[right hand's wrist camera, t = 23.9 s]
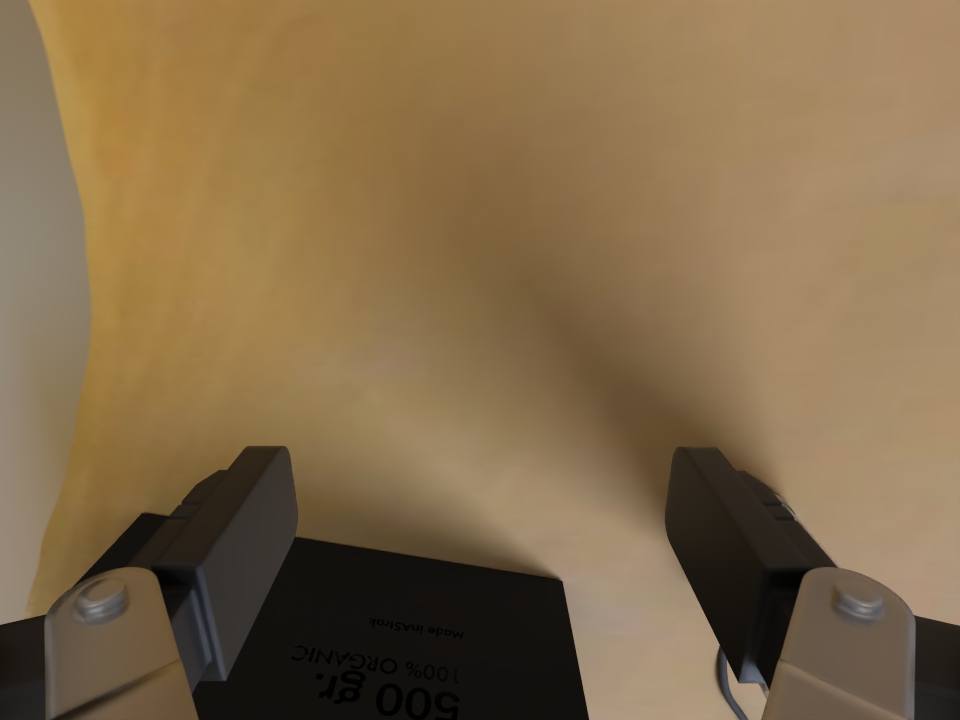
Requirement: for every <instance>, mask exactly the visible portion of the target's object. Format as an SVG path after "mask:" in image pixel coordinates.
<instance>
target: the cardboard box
mask: <svg viewBox="0 0 960 720" xmlns="http://www.w3.org/2000/svg"><path fill="white" fill-rule="evenodd" d="M166 520H169V517H163V516H157V515H151V514H145V513H142V514H141V515H140V516H139V517H138V518H137V519H136V520H135V521H134V522H133V524H132V525H131V526H130V527H129V528H128V529H127V530H126V531H125V532H124V533H123V534H122V535H121V536H120V537H119V538H118V539H117V541H116V542H115V543H114V544H113V545H112V546H111V547H110V548H109V549H108V550H107V551H106V552H105V553H104V554H103V555H102V556H101V558H100V559H99V560H98V561H97V562H96V563H95V564H94V565H93V566H92V567H91V568H90V569H89V570H88V571H87V572H86V573H85V575H84V576H83V577H82V578H81V579H80V580H79V581H78V582H77V583H76V584H75V585H77V584H79V583H80V582H82V581H84V580H86V579H88V578H90V577H93V576H95V575H97V574H100V573H103V572H106V571H109V570H113V569H118V568H125V567H126V566H127V565H128V564H129V562H130V561H131V560H132V559H133V558H134V557H135V556H136V554H137V553H138V552H139V551H140V550H141V549H142V547H143V546H144V545H145V544H146V543H147V542H148V540H149V539H150V538H151V537H152V536H153V535H154V533H155V532H156V531H157V530H158V529H159V528H160V526H161V525H162V524H163V523H164V522H165V521H166ZM75 585H74V586H75ZM74 586H73V587H74ZM298 645H302V646H305V650H304V649H303V648H296V646H298ZM319 649H321V651H322V652H323V653H324V654H325V656H326V657H327V658H326V660H325V659H324V658H323V657H322V655H320V657H319V660H318V662H316V661H315V659H316V656H318V652H319ZM335 651H338V654H339V655H344V656H343V660H344V661H343V662H342V663H341V664H340V665H339V664H338V662H337V658H336V654H335ZM304 654H306V655H307V656H306V657H305V658H304V659H300V658H301V657H303V656H304ZM353 654H361V655H363V656H364V657H365V659H366V660H365V659H364V658H361V657H359V656H355V657H353V659H356V661H351V657H352V655H353ZM310 655H311V656H313V658H312V661H309V660H308V659H309V656H310ZM368 656H371V658H372V659H373V661H374V662H375V663H376V665H377V668H376V670H374V669H373V667H374V665H370V668H372V669H370V668H369V666H368V664H369V663H370V662H371V661H370V659H369V658H368ZM330 658H331V661H330V663H329V660H330ZM339 659H340V661H341V659H342V658H341V657H340V658H339ZM351 664H352V665H353V666H355V667H353V666H350V665H351ZM358 666H359V667H358ZM192 698H193V702H194V705H195V709H196V712H197V716H198V719H199V720H589V716H588V711H587V706H586V701H585V696H584V691H583V685H582V680H581V675H580V670H579V665H578V659H577V654H576V649H575V644H574V639H573V634H572V628H571V623H570V618H569V613H568V608H567V602H566V597H565V592H564V587H563V582H562V581H559V580H553V579H547V578H541V577H534V576H528V575H522V574H516V573H510V572H503V571H497V570H491V569H485V568H479V567H473V566H466V565H460V564H454V563H448V562H442V561H435V560H429V559H423V558H417V557H411V556H405V555H398V554H392V553H386V552H380V551H374V550H367V549H361V548H355V547H349V546H343V545H336V544H330V543H324V542H318V541H312V540H306V539H299V538H294V540H293V542H292V545H291V547H290V549H289V551H288V553H287V555H286V557H285V559H284V561H283V563H282V565H281V567H280V569H279V571H278V574H277V576H276V578H275V580H274V582H273V584H272V586H271V588H270V590H269V592H268V594H267V596H266V598H265V600H264V602H263V605H262V607H261V609H260V611H259V613H258V615H257V617H256V619H255V621H254V623H253V625H252V627H251V629H250V631H249V633H248V636H247V638H246V640H245V642H244V644H243V646H242V648H241V650H240V652H239V654H238V656H237V658H236V660H235V662H234V665H233V667H232V669H231V671H230V673H229V675H228V677H227V679H226V681H199V682H198V684H197V685H196V687H195V689H194V691H193V693H192Z"/></svg>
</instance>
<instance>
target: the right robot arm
mask: <svg viewBox="0 0 960 720" xmlns="http://www.w3.org/2000/svg"><path fill="white" fill-rule="evenodd" d="M297 522H298V509H297V502H296V495H295V487H294V480H293V473H292V466H291V459H290V454H289V451H288V449H287V448H286V447H285V446H247V447H246V448H245V449H244V450H243V451H242V452H241V454H240V455H239V456H238V457H237V459H236V460H235V461H234V462H233V464H232V465H231V466H230V467H229V469H228V470H219V471H217V472H215V473H214V474H212V475H211V476H209V477H208V478H206V479H204V480H203V481H201V482H200V483H198V484H197V485H196V486H195V487H194V488H193V489H192V490H191V492H190V493H189V494H188V495H187V496H186V497H185V498H184V500H183V501H182V505H178V507H177V508H176V509H175V510H174V511H173V512H172V514H171V515H170V518H169V520H166V521H165V522H164V523H163V524H162V525H161V526H160V528H159V529H158V530H157V531H156V532H155V533H154V535H153V536H152V537H151V538H150V539H149V540H148V542H147V543H146V544H145V545H144V546H143V547H142V549H141V550H140V551H139V552H138V553H137V554H136V556H135V557H134V558H133V559H132V560H131V561H130V562H129V564H128V565H127V566H126V567H125V568H118V569H113V570H109V571H106V572H103V573H100V574H97V575H95V576H93V577H90V578H88V579H86V580H84V581H82V582H80V583H79V584H77V585H75V586H74V587H72V588H71V589H70V590H68V591H67V592H65V593H64V594H63V595H62V596H61V597H60V598H59V599H58V600H57V601H56V602H55V603H54V604H53V605H52V607H51V608H50V610H49V611H48V613H47V614H46V615H42V616H38V617H33V618H29V619H24V620H20V621H16V622H11V623H7V624H2V625H0V720H199V719H198V716H197V712H196V709H195V705H194V702H193V698H192V693H193V691H194V689H195V687H196V685H197V684H198V682H199V681H226V679H227V677H228V675H229V673H230V671H231V669H232V667H233V665H234V662H235V660H236V658H237V656H238V654H239V652H240V650H241V648H242V646H243V644H244V642H245V640H246V638H247V636H248V633H249V631H250V629H251V627H252V625H253V623H254V621H255V619H256V617H257V615H258V613H259V611H260V609H261V607H262V605H263V602H264V600H265V598H266V596H267V594H268V592H269V590H270V588H271V586H272V584H273V582H274V580H275V578H276V576H277V574H278V571H279V569H280V567H281V565H282V563H283V561H284V559H285V557H286V555H287V553H288V551H289V549H290V547H291V545H292V542H293V540H294V537H295V534H296V529H297ZM665 525H666V531H667V536H668V539H669V542H670V544H671V546H672V548H673V550H674V552H675V554H676V556H677V558H678V560H679V562H680V564H681V566H682V568H683V570H684V573H685V575H686V577H687V579H688V581H689V583H690V585H691V587H692V589H693V591H694V593H695V595H696V597H697V599H698V601H699V603H700V605H701V607H702V609H703V611H704V613H705V615H706V617H707V620H708V622H709V624H710V626H711V628H712V630H713V632H714V634H715V636H716V638H717V640H718V642H719V644H720V650H719V676H720V684H721V688H722V692H723V694H724V696H725V699H726V700H727V702H728V704H729V705H730V707H731V708H732V710H733V711H734V712H735V714H736V715H737V716H738V718H739V719H740V720H748V719H747V717H746V716H745V714H744V713H743V711H742V710H741V709H740V707H739V706H738V705H737V703H736V702H735V700H734V699H733V697H732V695H731V692H730V689H729V685H728V677H727V660H728V662H729V664H730V666H731V669H732V671H733V673H734V675H735V677H736V679H737V681H738V683H758V684H759V685H760V687H761V689H762V691H763V693H764V695H765V697H766V699H767V702H766V705H765V709H764V712H763V716H762V719H761V720H960V626H958V625H954V624H949V623H945V622H941V621H936V620H932V619H927V618H923V617H919V616H915V615H913V613H912V611H911V610H910V608H909V607H908V605H907V604H906V603H905V602H904V601H903V600H902V599H901V598H900V597H899V596H898V595H897V594H896V593H895V592H893V591H892V590H890V589H889V588H888V587H886V586H885V585H883V584H881V583H880V582H878V581H876V580H874V579H872V578H870V577H867V576H865V575H863V574H860V573H857V572H854V571H851V570H846V569H842V568H841V567H840V566H839V565H838V564H837V562H836V561H835V560H834V559H833V558H832V557H831V556H830V554H829V553H828V552H827V551H826V550H825V549H824V548H823V546H822V545H821V544H820V543H819V542H818V541H817V540H816V538H815V537H814V536H813V535H812V534H811V533H810V531H809V530H808V529H807V528H806V527H805V526H804V524H803V523H802V522H801V521H800V520H799V519H798V518H797V517H796V515H795V513H794V512H793V510H792V509H791V508H790V507H789V505H788V504H787V503H786V502H785V501H784V500H783V499H782V498H781V497H780V496H778V495H777V494H775V493H773V492H772V491H771V490H770V488H769V487H768V486H767V485H765V484H764V483H762V482H760V481H759V480H757V479H756V478H754V477H753V476H751V475H749V474H748V473H746V472H745V471H736V470H735V469H734V468H733V467H732V465H731V464H730V463H729V462H728V460H727V459H726V458H725V457H724V455H723V454H722V453H721V452H720V450H719V449H718V448H716V447H678V448H676V450H675V452H674V455H673V459H672V466H671V473H670V480H669V487H668V494H667V501H666V508H665Z"/></svg>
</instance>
